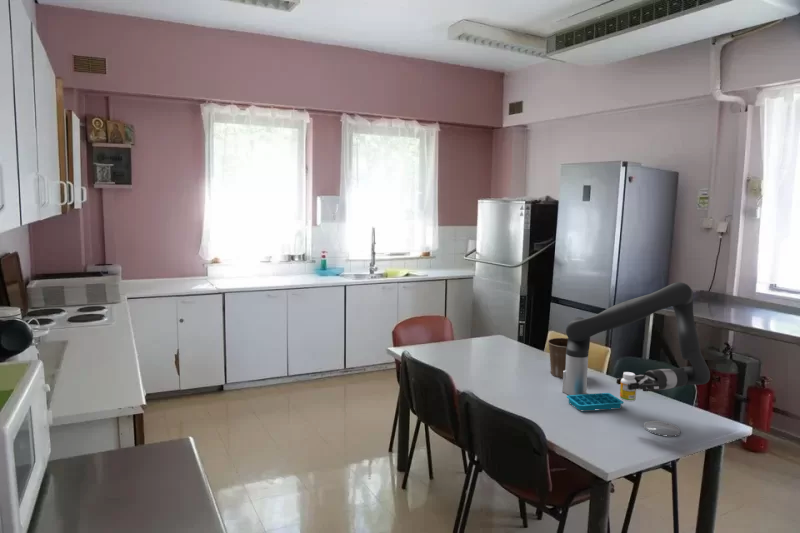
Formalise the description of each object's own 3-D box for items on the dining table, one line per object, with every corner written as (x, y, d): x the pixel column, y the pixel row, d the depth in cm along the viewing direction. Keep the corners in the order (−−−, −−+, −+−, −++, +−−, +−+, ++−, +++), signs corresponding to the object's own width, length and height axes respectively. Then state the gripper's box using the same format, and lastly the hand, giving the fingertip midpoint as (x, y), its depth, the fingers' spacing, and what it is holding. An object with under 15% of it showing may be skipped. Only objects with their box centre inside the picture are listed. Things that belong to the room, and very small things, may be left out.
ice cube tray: (624, 409, 221) (625, 402, 220) (579, 413, 217) (579, 406, 216) (608, 399, 232) (609, 392, 232) (564, 402, 228) (565, 395, 228)
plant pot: (574, 382, 252) (575, 348, 250) (540, 375, 261) (542, 342, 259) (585, 373, 264) (587, 341, 262) (553, 367, 274) (555, 336, 272)
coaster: (639, 429, 201) (639, 427, 201) (650, 420, 210) (650, 418, 210) (674, 439, 193) (674, 437, 193) (684, 429, 202) (684, 427, 202)
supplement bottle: (622, 395, 204) (623, 370, 202) (637, 398, 200) (639, 373, 199) (617, 399, 200) (619, 373, 198) (633, 403, 196) (634, 377, 195)
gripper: (646, 364, 210) (610, 368, 205) (676, 375, 196) (637, 380, 191) (645, 382, 211) (609, 387, 206) (674, 395, 197) (636, 401, 192)
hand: (623, 384), depth 198 cm, fingers closed on supplement bottle, 5 cm apart
